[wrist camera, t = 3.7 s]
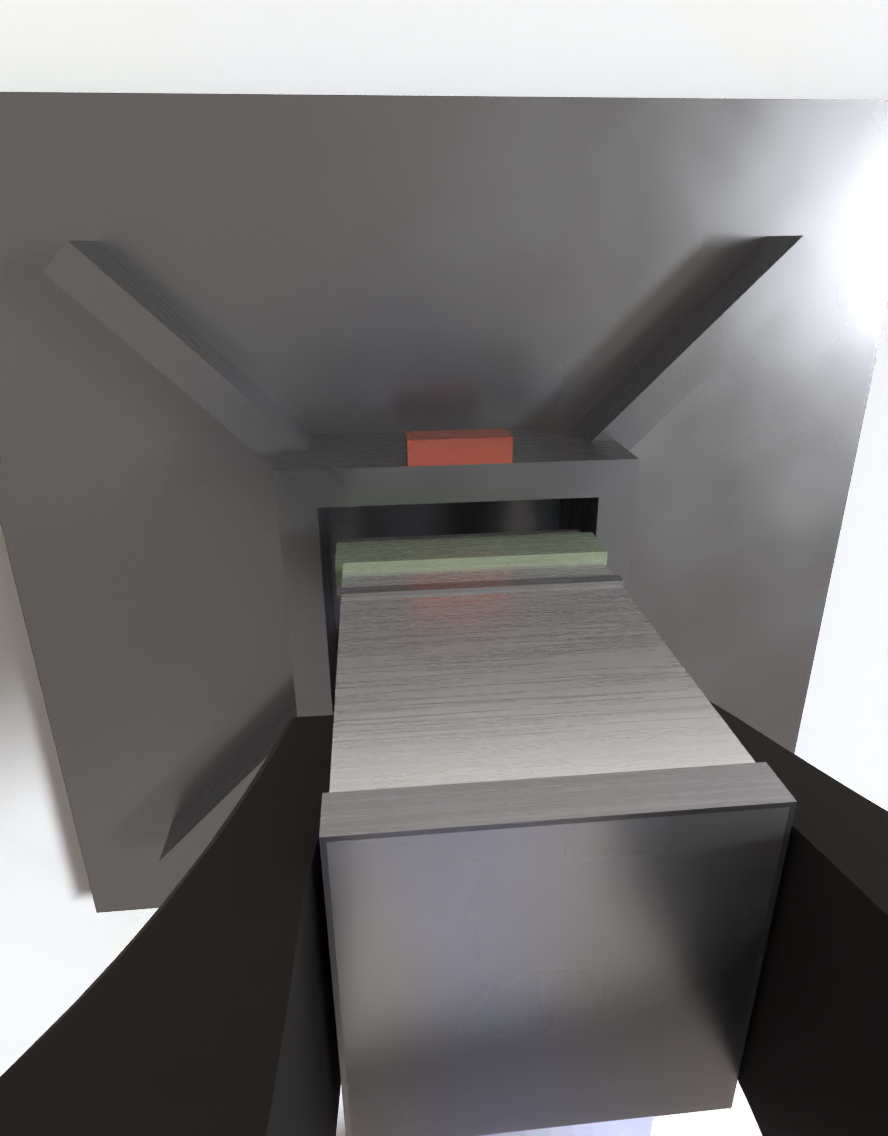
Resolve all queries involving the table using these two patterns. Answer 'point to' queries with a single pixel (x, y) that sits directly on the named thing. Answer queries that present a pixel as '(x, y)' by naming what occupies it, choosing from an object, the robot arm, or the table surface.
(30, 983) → the table surface
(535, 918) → the grey rectangular block
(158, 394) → the stand base
